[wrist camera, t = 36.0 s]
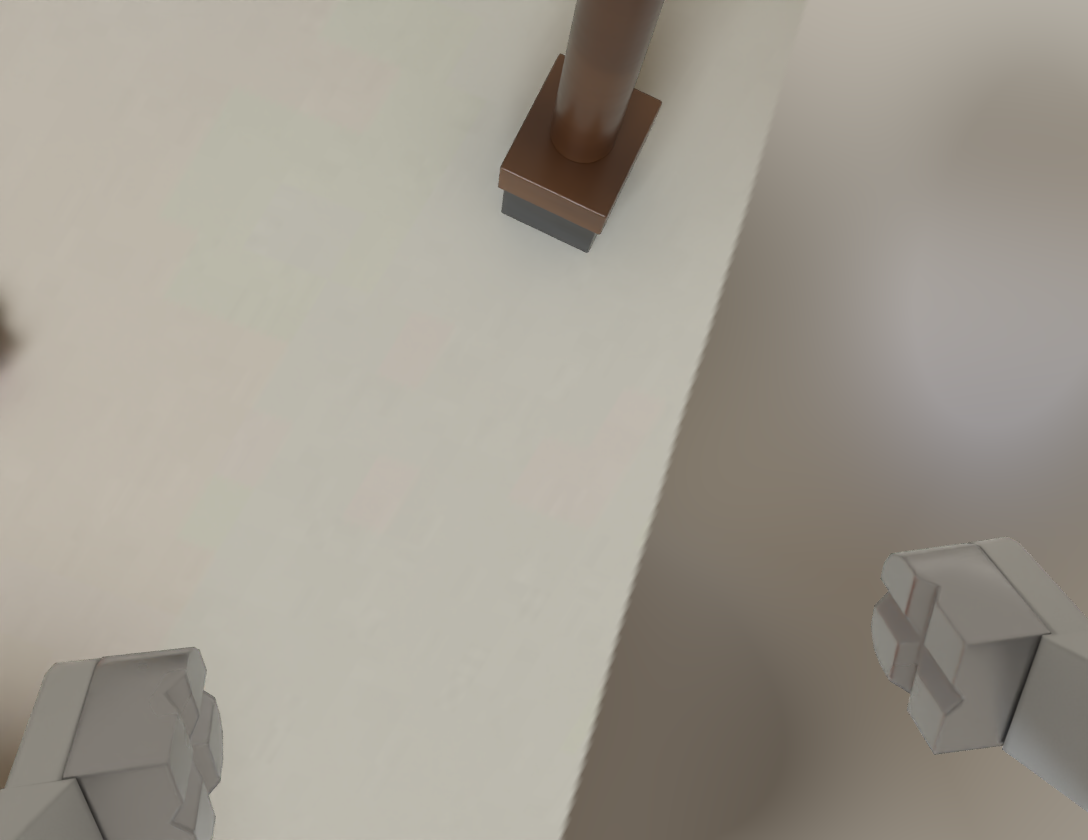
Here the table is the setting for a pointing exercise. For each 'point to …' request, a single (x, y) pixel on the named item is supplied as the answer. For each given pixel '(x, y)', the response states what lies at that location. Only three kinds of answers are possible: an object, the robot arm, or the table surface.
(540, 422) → the table surface
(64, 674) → the robot arm
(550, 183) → the dish brush
